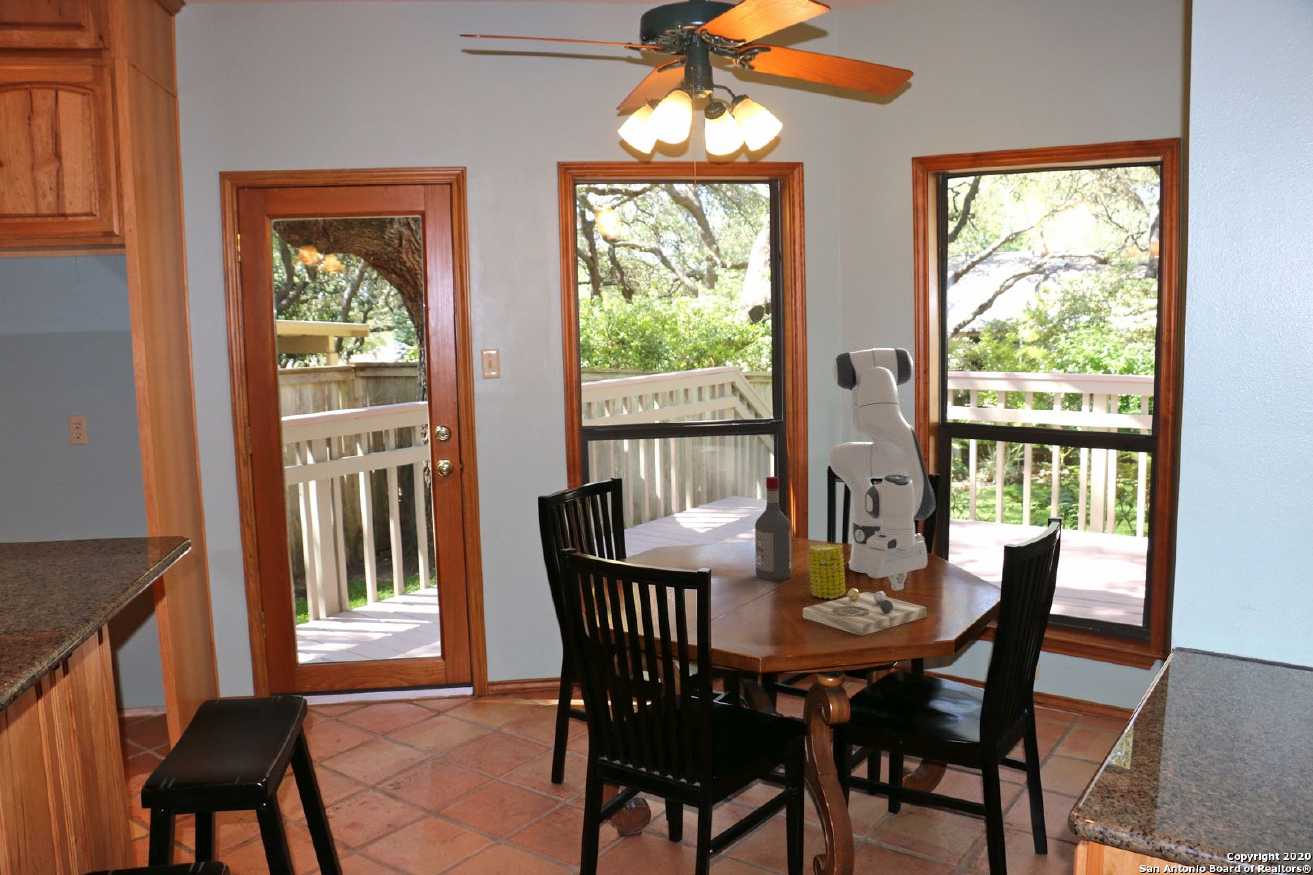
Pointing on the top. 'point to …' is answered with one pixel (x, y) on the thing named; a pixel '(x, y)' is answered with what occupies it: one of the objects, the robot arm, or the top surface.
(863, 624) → the board
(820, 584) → the food
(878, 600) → the steel ball
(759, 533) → the liquor
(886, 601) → the dark grey ball
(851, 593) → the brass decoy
